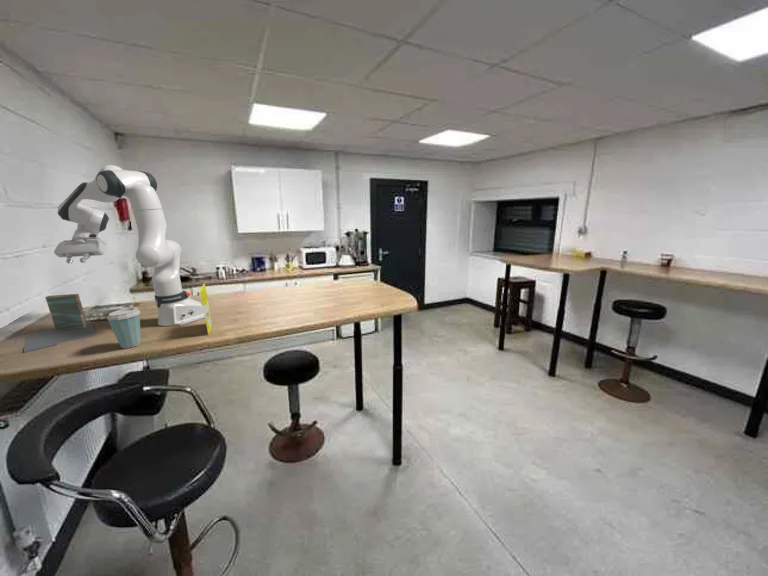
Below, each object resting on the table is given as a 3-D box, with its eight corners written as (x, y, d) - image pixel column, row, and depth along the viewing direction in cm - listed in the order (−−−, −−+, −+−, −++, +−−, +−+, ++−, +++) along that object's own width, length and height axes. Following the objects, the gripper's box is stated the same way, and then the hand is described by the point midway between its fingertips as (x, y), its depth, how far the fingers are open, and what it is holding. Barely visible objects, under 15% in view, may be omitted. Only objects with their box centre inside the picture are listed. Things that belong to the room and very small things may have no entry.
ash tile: (59, 328, 152) (48, 295, 148) (87, 325, 154) (78, 293, 150) (55, 330, 150) (44, 297, 146) (84, 327, 152) (74, 295, 148)
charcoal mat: (90, 321, 161) (90, 320, 161) (96, 335, 144) (96, 334, 143) (26, 335, 146) (26, 334, 146) (24, 352, 129) (23, 351, 128)
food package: (210, 323, 154) (203, 282, 148) (213, 323, 154) (206, 282, 149) (207, 335, 140) (198, 290, 135) (209, 334, 140) (201, 290, 135)
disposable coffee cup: (110, 352, 126) (99, 316, 122) (121, 341, 136) (112, 308, 132) (142, 348, 129) (133, 312, 125) (151, 337, 139) (143, 304, 135)
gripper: (56, 236, 160) (45, 259, 153) (102, 234, 163) (94, 257, 156) (65, 244, 165) (56, 267, 158) (110, 242, 168) (103, 264, 161)
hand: (75, 262), depth 157 cm, fingers open, 4 cm apart
